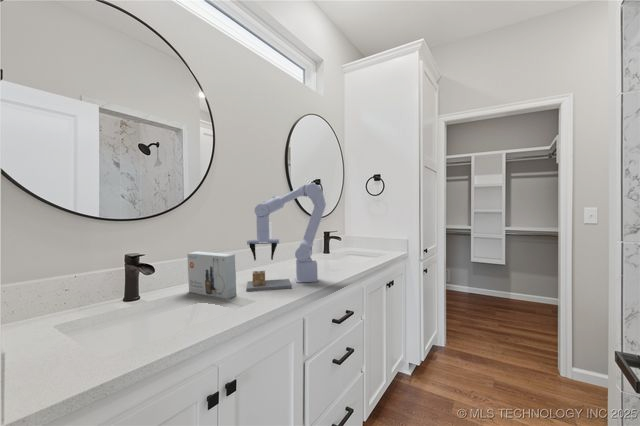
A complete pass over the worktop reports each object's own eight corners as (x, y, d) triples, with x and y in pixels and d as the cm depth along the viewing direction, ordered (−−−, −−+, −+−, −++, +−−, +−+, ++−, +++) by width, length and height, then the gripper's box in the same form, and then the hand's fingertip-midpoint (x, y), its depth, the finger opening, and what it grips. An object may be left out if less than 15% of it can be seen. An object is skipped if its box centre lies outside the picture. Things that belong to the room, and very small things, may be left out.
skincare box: (187, 292, 115) (186, 252, 115) (198, 289, 120) (198, 251, 120) (226, 299, 106) (225, 255, 105) (237, 295, 110) (236, 253, 110)
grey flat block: (289, 281, 131) (288, 266, 131) (291, 288, 119) (291, 271, 119) (247, 284, 127) (247, 268, 127) (246, 291, 115) (245, 274, 115)
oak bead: (265, 282, 125) (264, 270, 125) (265, 285, 120) (265, 273, 120) (253, 283, 124) (253, 271, 124) (252, 285, 119) (252, 273, 119)
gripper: (246, 231, 129) (246, 261, 129) (279, 230, 132) (279, 260, 132) (247, 230, 136) (247, 259, 136) (278, 229, 139) (279, 257, 139)
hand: (263, 259), depth 134 cm, fingers open, 7 cm apart
